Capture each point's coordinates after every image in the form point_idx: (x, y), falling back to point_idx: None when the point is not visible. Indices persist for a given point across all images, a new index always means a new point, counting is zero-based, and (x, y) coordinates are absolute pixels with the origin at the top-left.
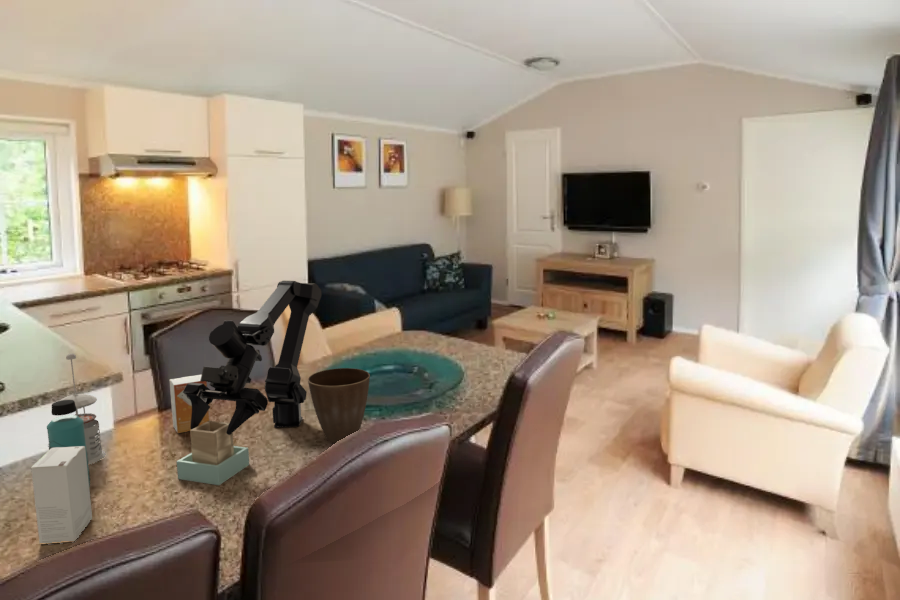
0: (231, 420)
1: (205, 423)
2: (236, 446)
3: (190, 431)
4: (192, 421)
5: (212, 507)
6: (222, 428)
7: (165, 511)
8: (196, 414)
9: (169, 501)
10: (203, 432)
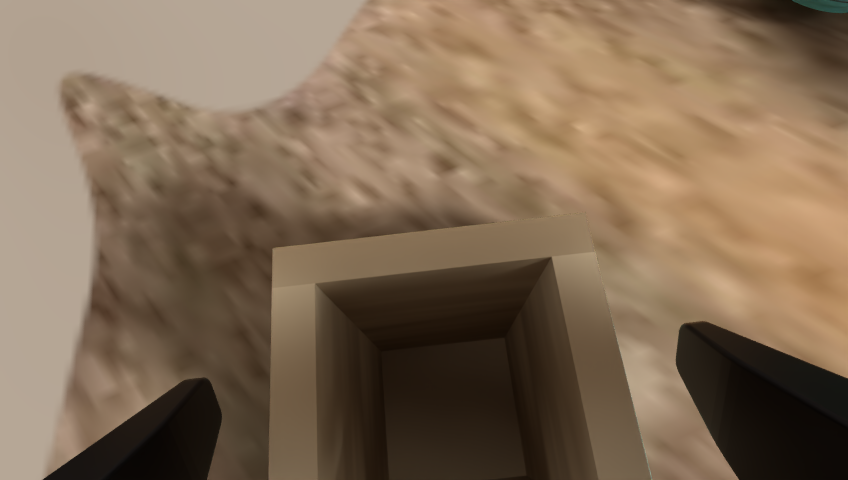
0: (85, 478)
1: (618, 464)
2: None
3: (578, 218)
4: (760, 356)
5: (207, 137)
6: (271, 405)
7: (362, 54)
8: (843, 447)
9: (411, 105)
10: (407, 235)
